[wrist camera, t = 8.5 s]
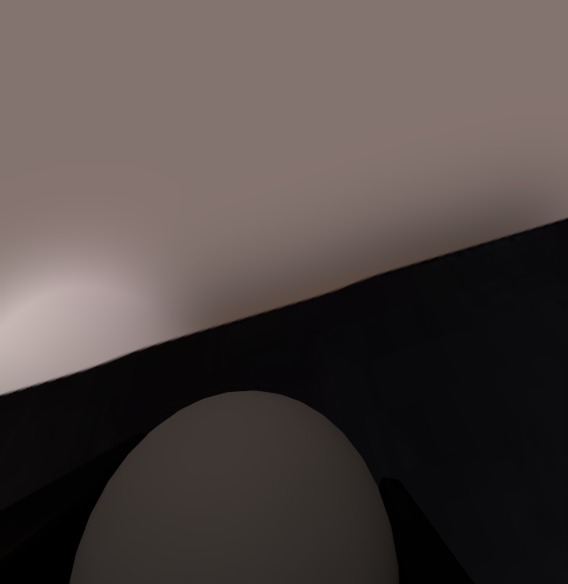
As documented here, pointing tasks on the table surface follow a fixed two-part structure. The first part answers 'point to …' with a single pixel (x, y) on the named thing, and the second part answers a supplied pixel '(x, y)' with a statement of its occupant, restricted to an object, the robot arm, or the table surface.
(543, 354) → the table surface
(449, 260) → the table surface
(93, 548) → the lightbulb
